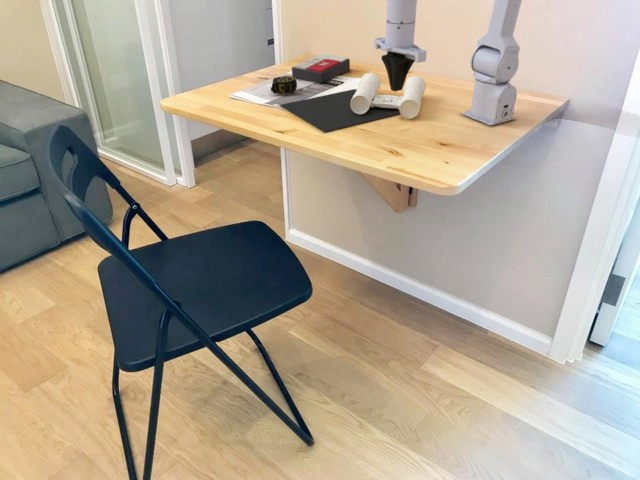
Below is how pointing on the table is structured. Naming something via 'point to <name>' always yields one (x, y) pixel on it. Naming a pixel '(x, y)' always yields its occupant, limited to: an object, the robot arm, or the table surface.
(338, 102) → the mat
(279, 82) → the tape measure
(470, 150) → the table surface
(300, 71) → the grey and red box
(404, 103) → the binoculars
